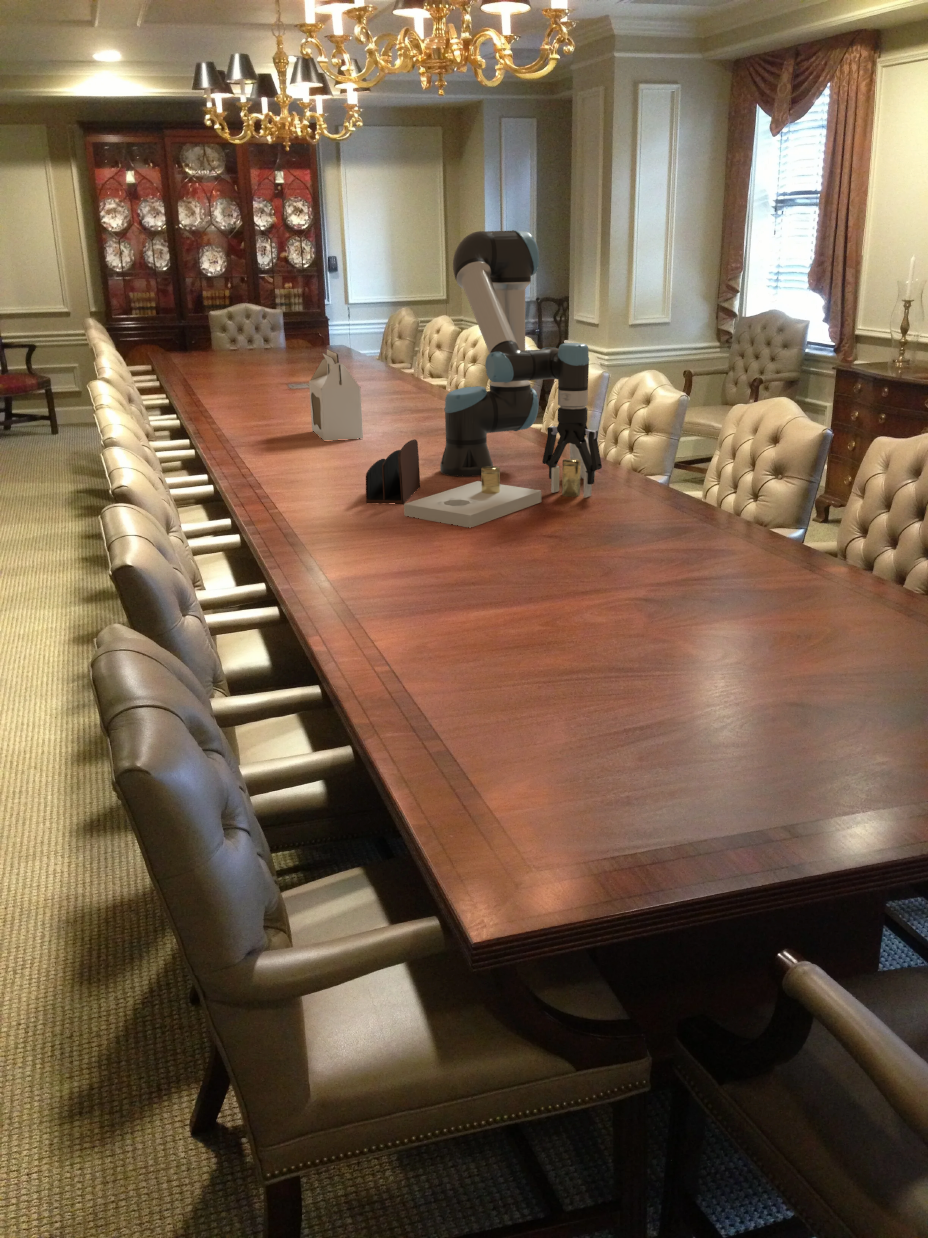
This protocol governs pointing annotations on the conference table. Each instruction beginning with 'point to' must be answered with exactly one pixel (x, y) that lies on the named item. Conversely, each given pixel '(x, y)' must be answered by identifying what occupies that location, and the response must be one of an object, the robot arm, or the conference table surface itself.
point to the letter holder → (394, 476)
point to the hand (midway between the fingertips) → (571, 493)
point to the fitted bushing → (490, 479)
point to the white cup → (578, 456)
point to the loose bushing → (571, 477)
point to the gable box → (335, 401)
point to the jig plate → (471, 504)
